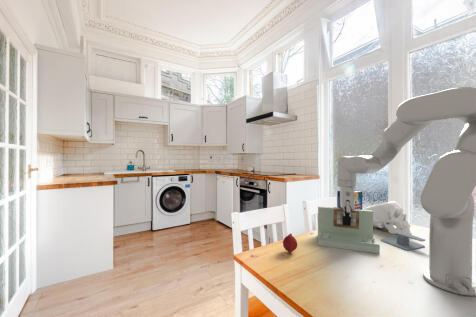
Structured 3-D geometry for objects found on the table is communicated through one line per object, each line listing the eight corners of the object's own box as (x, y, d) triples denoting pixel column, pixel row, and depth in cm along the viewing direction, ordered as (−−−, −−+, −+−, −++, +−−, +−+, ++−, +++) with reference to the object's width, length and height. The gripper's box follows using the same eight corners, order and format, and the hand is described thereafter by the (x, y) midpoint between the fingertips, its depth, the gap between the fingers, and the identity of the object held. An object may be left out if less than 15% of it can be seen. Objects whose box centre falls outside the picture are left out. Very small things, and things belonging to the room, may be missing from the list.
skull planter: (409, 236, 102) (389, 198, 110) (371, 242, 118) (356, 208, 126) (422, 231, 108) (403, 196, 116) (385, 238, 124) (370, 206, 132)
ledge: (379, 253, 87) (379, 217, 87) (317, 244, 96) (318, 212, 96) (372, 242, 99) (372, 210, 99) (317, 235, 107) (318, 206, 107)
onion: (287, 256, 84) (287, 236, 84) (280, 250, 90) (280, 231, 90) (299, 254, 86) (300, 235, 86) (292, 248, 91) (292, 230, 91)
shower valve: (414, 241, 87) (379, 230, 102) (414, 254, 87) (379, 241, 102) (432, 237, 92) (396, 227, 106) (432, 250, 92) (396, 238, 106)
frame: (359, 229, 91) (359, 211, 91) (333, 226, 95) (334, 208, 95) (357, 226, 95) (357, 209, 95) (333, 224, 98) (333, 207, 98)
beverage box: (362, 232, 112) (362, 191, 112) (348, 235, 108) (348, 192, 107) (350, 228, 118) (350, 189, 118) (336, 231, 114) (337, 191, 114)
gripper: (359, 186, 86) (358, 230, 86) (353, 181, 101) (352, 219, 101) (339, 185, 88) (338, 228, 88) (335, 181, 104) (335, 217, 104)
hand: (345, 223), depth 95 cm, fingers closed on frame, 3 cm apart
